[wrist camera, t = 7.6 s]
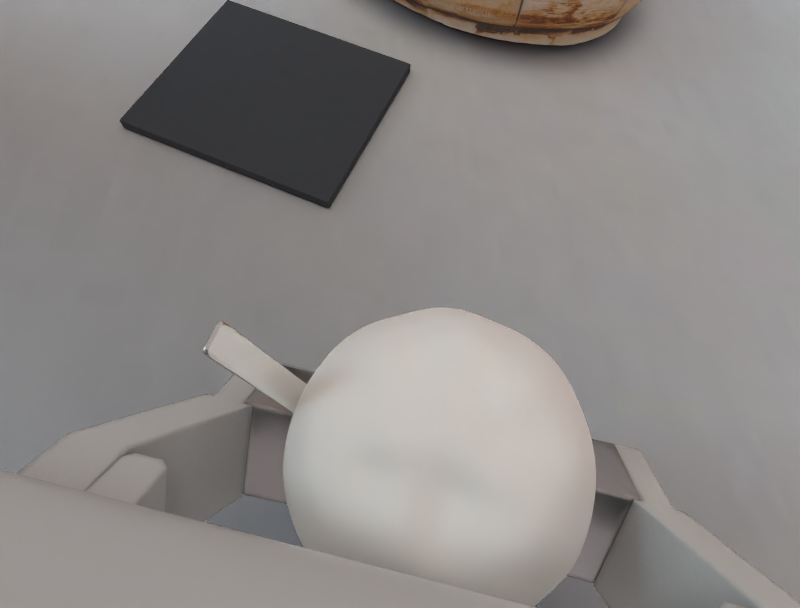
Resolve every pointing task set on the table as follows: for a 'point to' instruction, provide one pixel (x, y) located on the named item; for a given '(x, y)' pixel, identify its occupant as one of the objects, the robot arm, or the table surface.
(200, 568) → the robot arm
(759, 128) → the table surface
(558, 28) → the trinket box
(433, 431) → the milkshake
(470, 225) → the table surface
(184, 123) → the mat
